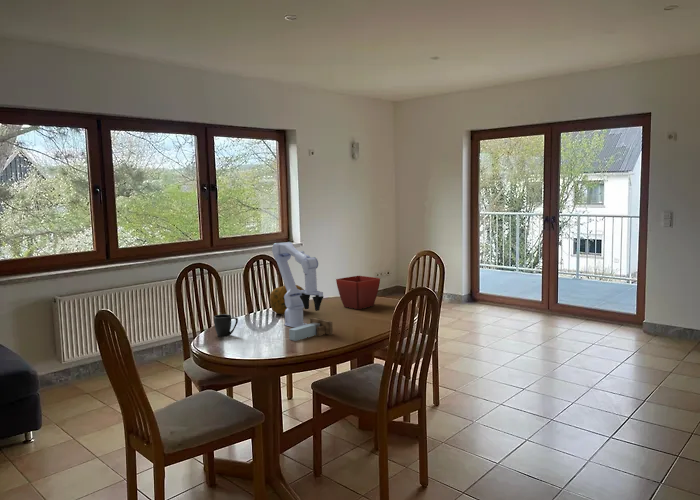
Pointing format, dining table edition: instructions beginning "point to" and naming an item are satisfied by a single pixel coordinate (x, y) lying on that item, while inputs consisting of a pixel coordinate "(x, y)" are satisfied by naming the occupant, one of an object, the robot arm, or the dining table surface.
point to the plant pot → (358, 291)
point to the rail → (303, 331)
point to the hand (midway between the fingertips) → (312, 309)
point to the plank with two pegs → (322, 326)
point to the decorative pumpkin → (279, 299)
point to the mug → (223, 324)
